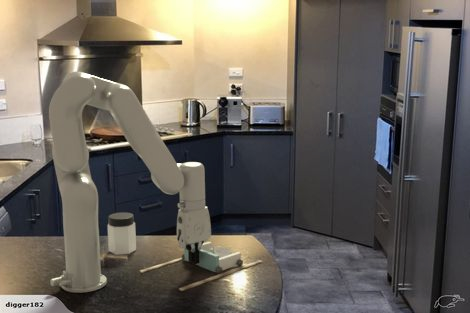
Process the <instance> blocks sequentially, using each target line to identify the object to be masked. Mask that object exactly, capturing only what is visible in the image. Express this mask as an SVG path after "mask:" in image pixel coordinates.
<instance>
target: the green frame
mask: <svg viewBox="0 0 470 313" xmlns="http://www.w3.org/2000/svg"><path fill="white" fill-rule="evenodd" d="M211 248H212V242H211V241H206V242H204V243H203V244H202V246H201V250H199V263H198V264H195V265H196V266H198V267H201V268H203V269H206V270H208V271H211V272H213V273H216V274H217V275H219V274H221V273H223V271H225V270H227V269H228V270H229V269H230V268H234V267H236V266H239V267H241V266H243V264H244V261H243V259H242V253H241V252H240V251H237V252H234V253H233V252H232V254H230V255H227V256H224V257H221V258H219V255H216V254H213V253H212V251H211ZM181 258H182V259H183V260H182V261H185V262H189V259H188V250H187V249H186V248H183V254H182V255H181ZM189 263H190V262H189Z"/></svg>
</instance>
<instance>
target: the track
mask: <svg viewBox="0 0 470 313" xmlns="http://www.w3.org/2000/svg"><path fill="white" fill-rule="evenodd" d="M216 247H221V246H220V245H217V246H216ZM212 250H213V247H211V252H212ZM181 261H184V260H183V259H182V257H179V258H176V259H172V260H169V261H167V262H163V263H160V264H157V265H153V266H150V267H146V268H144V269H140V270H139V272H140V273H141V274H143V273H147V272H149V271H152V270H155V269H159V268H163V267H166V266H168V265H172V264H174V263H175V264H176V263H178V262H181ZM260 263H263V260H260V259H259V260H256V261H253V262H251V263H248V264H245V265H242V266H239V267H236V268H234V269H231V270H227V271H224V272H221V273H220V274H216V275H213V276H210V277H208V278H205V279H202V280H199V281H196V282H193V283H191V284H187V285H184V286H182V287H180V288H178V290H179V291H180V292H182V291H186V290H189V289H191V288H194V287H197V286H200V285H202V284H205V283H209V282H211V281H214V280H217V279H219V278H222V277H225V276H228V275H230V274H233V273H236V272H238V271H243V270H245V269H247V268H250V267H253V266H255V265H258V264H260Z"/></svg>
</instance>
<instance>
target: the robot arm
mask: <svg viewBox="0 0 470 313" xmlns="http://www.w3.org/2000/svg"><path fill="white" fill-rule="evenodd" d="M86 105H87V106H91V107H94V108H98V109H101V110H105V111H108V112H109V113H110V114H111V116H112V118H113V120H114V121H115V123H116V124H117V126H118V128H119V129H120V132H121V133H122V134H123V136H124V138H125V140H126V141H127V143H128V144H129V146H130V147H131V148H132V150H133V151H134V152H135V153H136V154H137V155H138V156H139V158H140V159H141V160H142V161H143V163H144V164H145V166H146V167H147V168H148V170H149V172H150V174H151V175H150V177H151V181H152V182H153V183H154V184H155V186H156V187H157V188H158V189H159V190H160V191H161V192H163V193H164V194H167V195H172V196H173V195H176V194H178V193H179V203H177V208H178V212H177V218H176V239H177V241H178V245H177V246H178V248H181V249H184V248H186V249H187V250H188V259H189V264H192V265H196V264H198V263H199V250H201V246H202V244H203V243H206V242H208V241H209V239H210V238H211V237H212V228H211V227H212V225H211V218H210V217H211V216H210V212H209V209H208V206H206V182H205V181H206V180H205V179H206V178H205V175H206V174H205V166H204V165H203V163H201V162H197V161H188V162H183V163H177V161H176V160H175V158H174V156H173V155H172V153H171V152H170V150H169V148H168V147H167V146H166V144H165V142H164V141H163V139H162V136H161V135H160V134H159V132H158V131H157V129H156V128H155V125H154V124H153V123H152V120H151V119H150V118H149V115H148V114H147V112H146V110H145V109H144V107H143V106H142V104H141V102H140V101H139V99H138V97H137V95H136V94H135V92H134V91H133V89H131V88H130V87H129V86H127V85H125V84H123V83H120V82H119V83H118V82H114V81H111V80H108V79H104V78H100V77H98V76H95V75H91V74H89V73H85V72H82V71H71V72H69V73H68V74H67V75H65V77H64V78H63V80H62V82H61V84H60V85H59V86H58V88H57V89H56V90H55V92H54V93H53V95H52V97H51V100H50V102H49V107H48V118H49V120H48V121H49V125H50V132H51V133H50V134H51V138H52V144H53V145H52V149H51V154H52V159H53V160H52V161H53V165H54V169H55V174H56V180H57V184H58V189H59V193H60V196H61V202H62V203H61V204H62V205H61V206H62V224H63V227H62V228H63V236H64V237H63V239H64V256H65V270H63V271H62V274H61V275H60V276H58V277H54V278H51V279H50V281H49V282H50V286H52V287H53V286H57V285H59V286H60V287H61V289H63V290H64V291H66V292H69V293H78V294H79V293H81V294H82V293H89V292H94V291H97V290H99V289H100V290H101V289H102V288H103V287H105V286H106V285H107V283H108V279H107V276H105V275H104V274H102V270H101V267H102V266H101V250H100V249H101V248H100V229H99V228H100V227H99V193H98V188H97V186H96V184H95V182H94V181H93V179H92V174H91V171H90V164H89V158H90V152H89V147H88V145H87V141H86V136H85V130H84V122H83V118H82V117H83V110H84V108H85V106H86Z"/></svg>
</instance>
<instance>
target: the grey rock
mask: <svg viewBox="0 0 470 313" xmlns="http://www.w3.org/2000/svg"><path fill="white" fill-rule="evenodd" d="M212 248H213V250H212V251H211V253H213V254H216V255H219V258H221V257H224V256H227V255H230V254H233V252H232V250H231V248H229V247H223V246H220V247H217V246H216V245H214V246H212Z"/></svg>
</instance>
